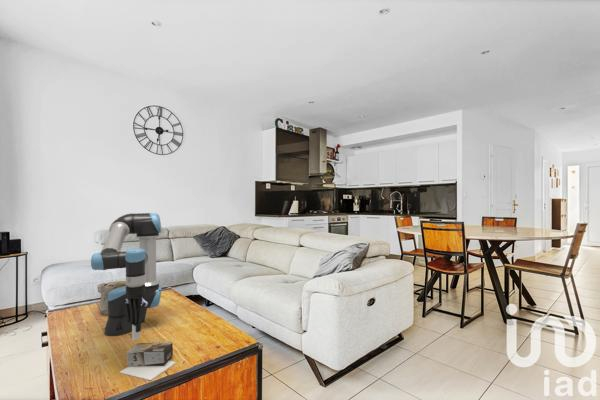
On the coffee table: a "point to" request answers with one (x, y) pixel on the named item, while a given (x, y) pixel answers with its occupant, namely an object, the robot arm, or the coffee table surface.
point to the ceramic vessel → (105, 290)
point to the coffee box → (150, 354)
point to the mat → (146, 371)
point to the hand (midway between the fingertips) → (136, 338)
